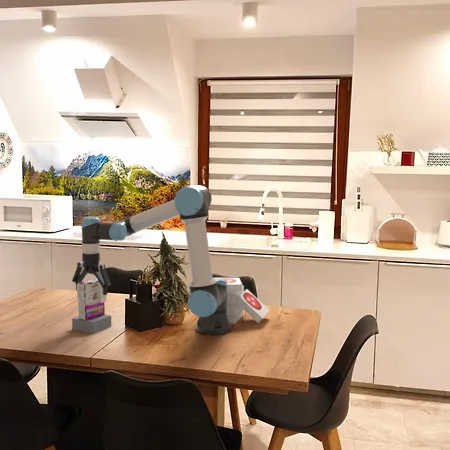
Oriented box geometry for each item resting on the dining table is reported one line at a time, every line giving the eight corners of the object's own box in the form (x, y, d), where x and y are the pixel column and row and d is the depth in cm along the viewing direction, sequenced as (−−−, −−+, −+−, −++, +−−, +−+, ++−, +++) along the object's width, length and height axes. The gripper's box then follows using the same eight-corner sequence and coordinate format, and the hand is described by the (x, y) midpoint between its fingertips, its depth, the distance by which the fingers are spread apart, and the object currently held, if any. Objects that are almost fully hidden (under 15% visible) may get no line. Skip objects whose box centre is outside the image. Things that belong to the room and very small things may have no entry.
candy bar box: (97, 313, 242) (97, 277, 240) (105, 315, 239) (104, 279, 237) (77, 318, 233) (77, 282, 231) (85, 320, 230) (84, 283, 228)
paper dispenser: (261, 327, 240) (262, 288, 238) (199, 321, 249) (199, 283, 247) (270, 316, 259) (271, 280, 257) (211, 310, 267) (212, 275, 265)
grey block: (111, 326, 239) (111, 315, 238) (93, 333, 228) (93, 322, 228) (90, 322, 244) (90, 311, 244) (72, 329, 234) (72, 318, 233)
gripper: (119, 253, 230) (119, 301, 233) (75, 249, 242) (76, 294, 244) (107, 256, 224) (108, 305, 226) (63, 251, 235) (64, 298, 237)
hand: (91, 300), depth 235 cm, fingers open, 13 cm apart
